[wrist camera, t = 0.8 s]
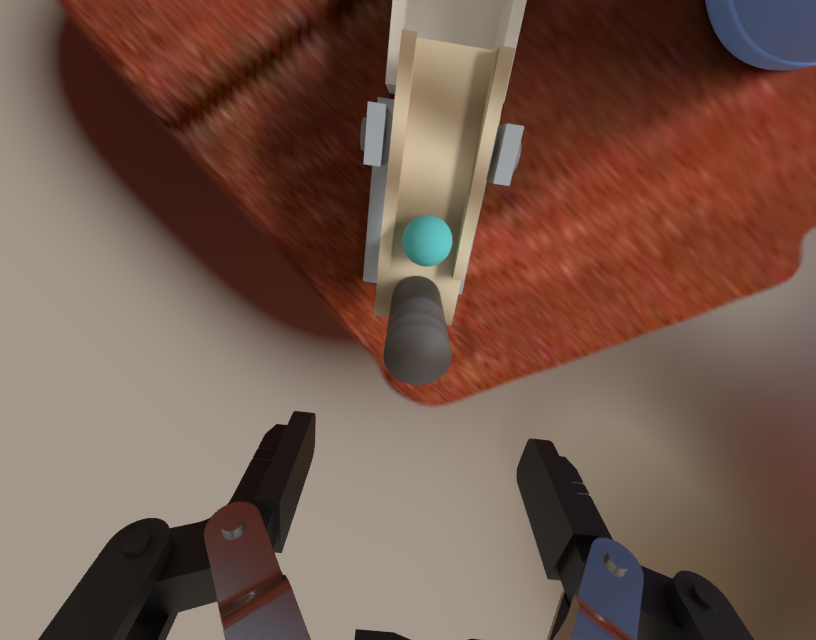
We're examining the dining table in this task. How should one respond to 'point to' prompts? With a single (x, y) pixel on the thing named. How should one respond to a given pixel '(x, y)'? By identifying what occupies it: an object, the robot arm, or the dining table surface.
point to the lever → (434, 190)
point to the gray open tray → (454, 25)
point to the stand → (377, 155)
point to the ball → (427, 240)
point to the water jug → (767, 31)
